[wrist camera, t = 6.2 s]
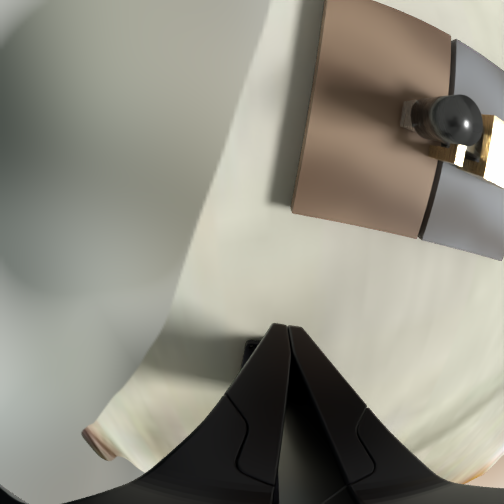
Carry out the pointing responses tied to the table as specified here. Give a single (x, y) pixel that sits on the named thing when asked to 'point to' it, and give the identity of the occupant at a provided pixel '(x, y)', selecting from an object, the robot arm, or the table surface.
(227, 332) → the table surface
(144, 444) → the table surface
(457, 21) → the table surface
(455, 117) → the steel bolt
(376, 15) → the board
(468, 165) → the brass keeper
